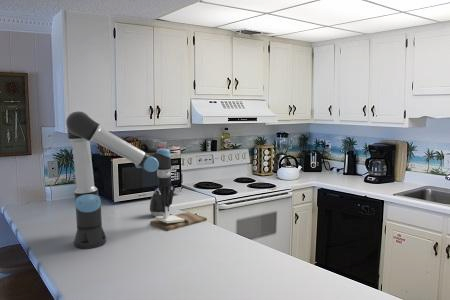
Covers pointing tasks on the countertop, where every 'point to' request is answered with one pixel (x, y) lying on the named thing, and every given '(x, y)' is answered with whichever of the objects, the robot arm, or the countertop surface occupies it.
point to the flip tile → (170, 219)
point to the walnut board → (189, 220)
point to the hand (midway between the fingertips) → (165, 217)
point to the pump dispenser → (155, 206)
